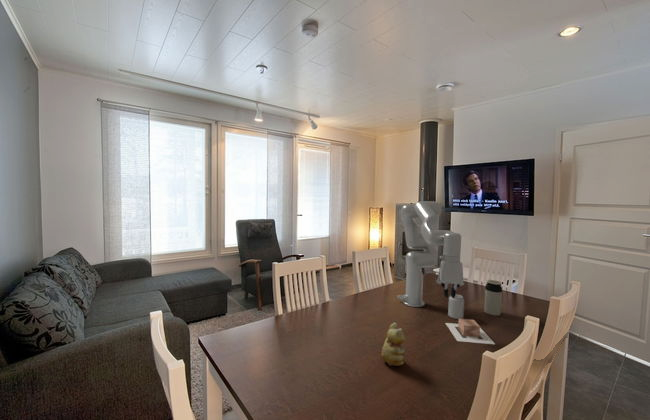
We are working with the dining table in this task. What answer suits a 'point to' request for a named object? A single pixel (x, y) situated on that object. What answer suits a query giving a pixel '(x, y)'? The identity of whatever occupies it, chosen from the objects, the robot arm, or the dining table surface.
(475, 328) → the brown block
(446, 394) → the dining table surface
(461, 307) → the can
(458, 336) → the letter card
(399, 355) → the decorative figurine
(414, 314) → the dining table surface
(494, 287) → the travel mug
